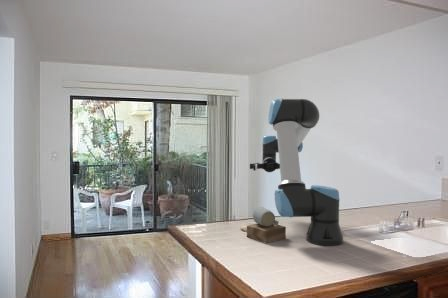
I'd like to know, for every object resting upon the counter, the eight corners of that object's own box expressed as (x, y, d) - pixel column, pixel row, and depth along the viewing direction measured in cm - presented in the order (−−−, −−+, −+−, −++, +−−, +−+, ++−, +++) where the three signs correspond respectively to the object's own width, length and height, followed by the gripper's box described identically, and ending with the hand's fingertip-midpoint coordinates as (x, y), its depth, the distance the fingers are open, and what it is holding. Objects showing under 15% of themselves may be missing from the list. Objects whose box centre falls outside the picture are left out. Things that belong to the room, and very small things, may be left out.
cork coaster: (262, 229, 173) (262, 228, 173) (249, 232, 167) (249, 231, 167) (250, 225, 180) (250, 224, 180) (236, 228, 174) (236, 227, 174)
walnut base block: (285, 238, 158) (285, 226, 158) (266, 243, 151) (266, 231, 151) (266, 232, 168) (266, 221, 168) (246, 236, 160) (246, 225, 160)
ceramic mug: (261, 228, 155) (262, 210, 155) (252, 224, 162) (252, 207, 162) (282, 226, 159) (282, 209, 159) (272, 222, 167) (272, 205, 167)
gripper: (293, 171, 192) (297, 175, 171) (246, 171, 195) (244, 175, 174) (293, 157, 192) (297, 160, 171) (246, 157, 195) (244, 159, 174)
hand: (270, 167), depth 172 cm, fingers open, 13 cm apart
